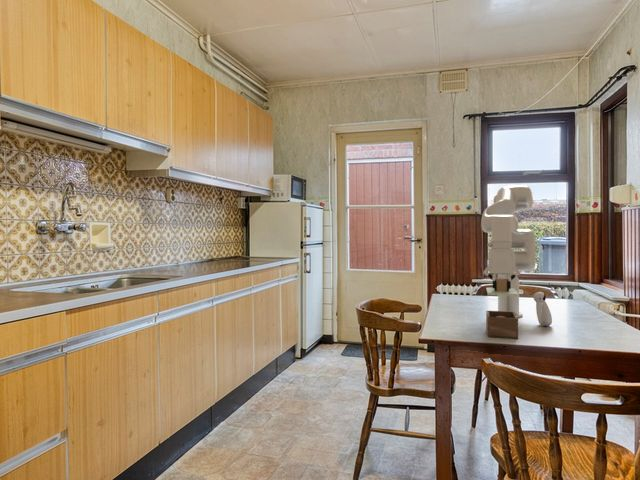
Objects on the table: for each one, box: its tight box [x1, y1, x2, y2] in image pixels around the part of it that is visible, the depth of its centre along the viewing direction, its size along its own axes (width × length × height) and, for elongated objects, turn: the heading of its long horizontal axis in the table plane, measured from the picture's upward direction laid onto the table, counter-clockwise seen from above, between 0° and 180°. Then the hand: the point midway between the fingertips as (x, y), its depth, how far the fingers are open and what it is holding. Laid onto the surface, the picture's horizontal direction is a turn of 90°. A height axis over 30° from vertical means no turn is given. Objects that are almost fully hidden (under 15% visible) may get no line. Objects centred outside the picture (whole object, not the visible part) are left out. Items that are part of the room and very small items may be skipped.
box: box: [485, 310, 519, 340], centre depth 175 cm, size 14×11×8 cm
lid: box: [485, 277, 518, 296], centre depth 175 cm, size 14×11×6 cm
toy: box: [533, 291, 553, 327], centre depth 188 cm, size 11×7×15 cm, turn 168°
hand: (501, 290), depth 175 cm, fingers closed on lid, 4 cm apart
